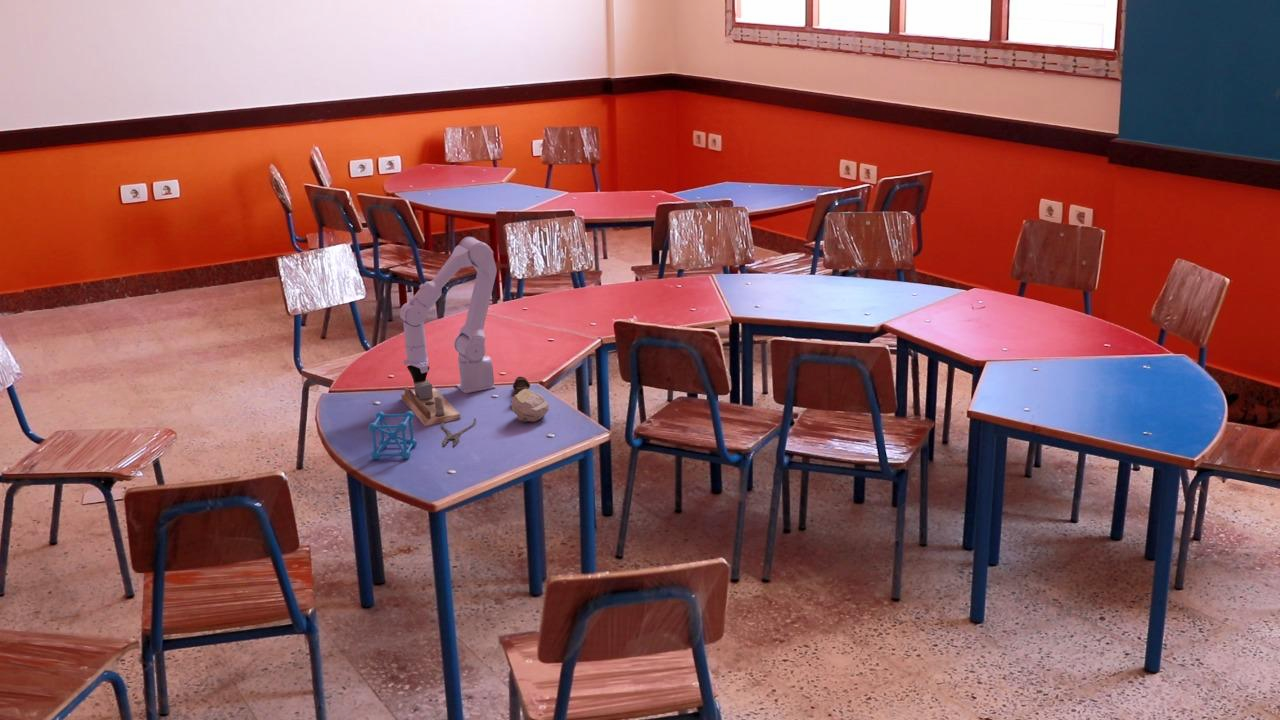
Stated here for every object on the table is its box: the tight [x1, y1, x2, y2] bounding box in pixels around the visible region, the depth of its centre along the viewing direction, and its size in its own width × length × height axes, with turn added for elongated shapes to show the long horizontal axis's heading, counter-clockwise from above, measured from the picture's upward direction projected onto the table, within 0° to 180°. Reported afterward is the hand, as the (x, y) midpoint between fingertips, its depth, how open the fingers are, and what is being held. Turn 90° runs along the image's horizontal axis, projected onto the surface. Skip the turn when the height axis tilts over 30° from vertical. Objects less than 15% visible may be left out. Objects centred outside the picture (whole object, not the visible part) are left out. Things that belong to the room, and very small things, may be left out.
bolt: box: [511, 376, 531, 398], centre depth 352 cm, size 6×5×15 cm
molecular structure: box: [367, 410, 418, 461], centre depth 315 cm, size 10×10×10 cm
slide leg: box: [413, 379, 433, 400], centre depth 349 cm, size 4×4×4 cm
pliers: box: [440, 417, 477, 448], centre depth 328 cm, size 10×1×20 cm
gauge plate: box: [400, 386, 461, 427], centre depth 344 cm, size 10×24×6 cm, turn 25°
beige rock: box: [511, 388, 550, 423], centre depth 334 cm, size 12×8×10 cm
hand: (420, 389), depth 352 cm, fingers closed
